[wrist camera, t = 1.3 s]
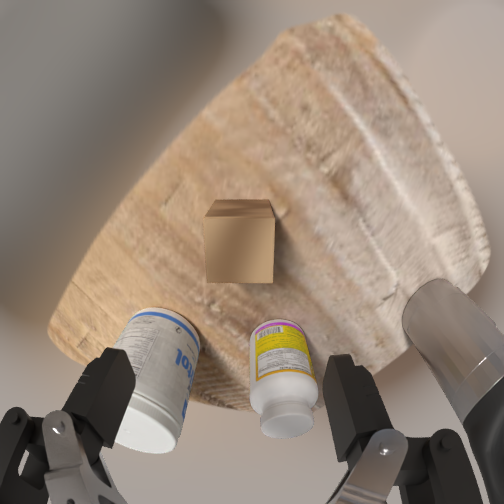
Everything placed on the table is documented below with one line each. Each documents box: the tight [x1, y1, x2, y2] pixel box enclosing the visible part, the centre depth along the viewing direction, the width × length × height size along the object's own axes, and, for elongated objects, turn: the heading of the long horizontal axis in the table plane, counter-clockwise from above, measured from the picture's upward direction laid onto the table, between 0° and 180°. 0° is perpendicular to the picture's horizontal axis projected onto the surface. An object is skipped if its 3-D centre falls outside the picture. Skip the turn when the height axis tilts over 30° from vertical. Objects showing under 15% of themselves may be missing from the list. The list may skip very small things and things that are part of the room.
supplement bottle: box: [249, 319, 318, 439], centre depth 26 cm, size 7×7×13 cm
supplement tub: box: [113, 307, 200, 454], centre depth 25 cm, size 10×10×15 cm
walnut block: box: [203, 200, 275, 283], centre depth 23 cm, size 5×5×7 cm
